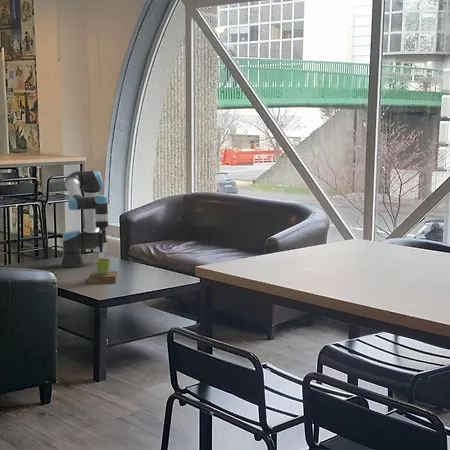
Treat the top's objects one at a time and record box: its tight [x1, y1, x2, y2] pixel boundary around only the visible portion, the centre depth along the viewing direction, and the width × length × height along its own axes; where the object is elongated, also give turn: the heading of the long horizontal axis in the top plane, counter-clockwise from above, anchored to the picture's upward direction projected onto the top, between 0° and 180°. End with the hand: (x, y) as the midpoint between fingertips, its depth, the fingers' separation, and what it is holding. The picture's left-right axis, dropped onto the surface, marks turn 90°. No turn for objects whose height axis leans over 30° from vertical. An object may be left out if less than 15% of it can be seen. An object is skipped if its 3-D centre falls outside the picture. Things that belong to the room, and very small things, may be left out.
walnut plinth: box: [88, 270, 119, 285], centre depth 428 cm, size 16×16×4 cm
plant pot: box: [94, 258, 112, 275], centre depth 427 cm, size 9×9×9 cm
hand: (102, 255), depth 426 cm, fingers open, 13 cm apart
